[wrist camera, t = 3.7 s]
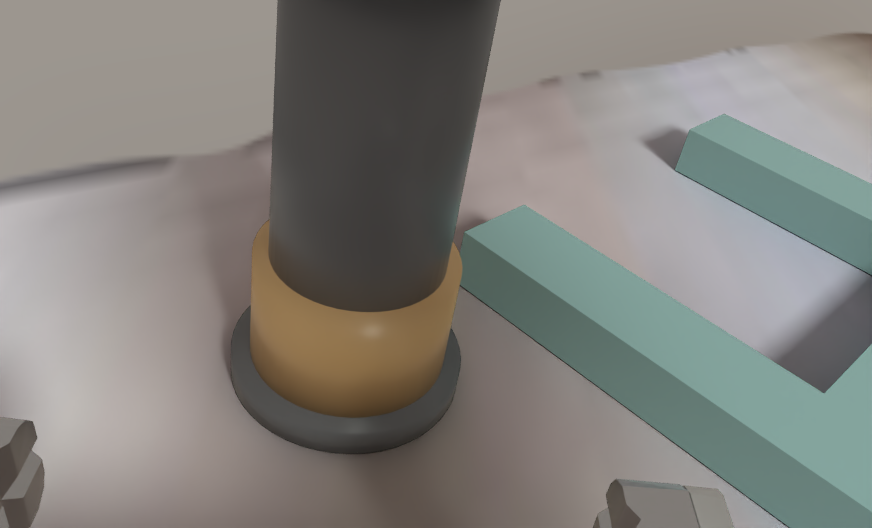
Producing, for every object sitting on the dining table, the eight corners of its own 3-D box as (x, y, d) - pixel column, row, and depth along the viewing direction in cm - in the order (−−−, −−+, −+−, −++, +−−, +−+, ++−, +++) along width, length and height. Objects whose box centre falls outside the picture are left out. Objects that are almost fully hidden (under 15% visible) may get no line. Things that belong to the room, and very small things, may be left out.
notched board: (709, 152, 38) (724, 113, 37) (1088, 346, 30) (1124, 304, 29) (454, 280, 28) (464, 231, 26) (934, 634, 19) (979, 585, 18)
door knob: (359, 271, 27) (411, -160, 20) (501, 384, 24) (629, -81, 16) (186, 347, 23) (166, -158, 16) (327, 494, 20) (389, -52, 12)
